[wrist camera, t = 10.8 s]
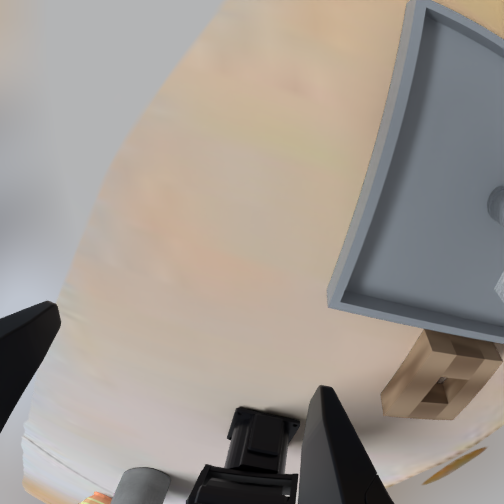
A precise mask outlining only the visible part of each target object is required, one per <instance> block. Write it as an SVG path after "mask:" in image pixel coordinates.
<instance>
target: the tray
mask: <svg viewBox="0 0 504 504" xmlns="http://www.w3.org/2000/svg"><path fill="white" fill-rule="evenodd" d="M498 186H504V39H502V38H500V37H499V36H497V35H496V34H494V33H492V32H491V31H489V30H487V29H486V28H484V27H482V26H481V25H479V24H477V23H475V22H474V21H472V20H470V19H468V18H466V17H464V16H463V15H461V14H459V13H457V12H455V11H453V10H451V9H449V8H447V7H445V6H443V5H440V4H438V3H436V2H434V1H432V0H410V1H409V2H408V3H407V4H406V10H405V16H404V21H403V27H402V32H401V37H400V42H399V47H398V52H397V57H396V62H395V66H394V71H393V75H392V80H391V84H390V88H389V92H388V97H387V101H386V105H385V109H384V113H383V116H382V120H381V124H380V128H379V132H378V135H377V139H376V142H375V146H374V150H373V153H372V157H371V160H370V163H369V167H368V170H367V173H366V177H365V180H364V183H363V187H362V190H361V193H360V196H359V199H358V202H357V206H356V209H355V212H354V215H353V218H352V221H351V224H350V227H349V230H348V233H347V235H346V238H345V241H344V244H343V247H342V250H341V253H340V255H339V258H338V261H337V264H336V266H335V269H334V272H333V275H332V277H331V280H330V283H329V285H328V288H327V302H328V308H332V309H337V310H341V311H345V312H350V313H354V314H358V315H363V316H367V317H372V318H376V319H381V320H386V321H390V322H395V323H399V324H404V325H409V326H414V327H418V328H423V329H428V330H433V331H438V332H443V333H448V334H453V335H458V336H464V337H469V338H474V339H479V340H485V341H490V342H496V343H502V344H504V302H503V301H502V300H501V298H500V297H499V295H498V294H497V293H496V291H495V290H494V288H495V286H496V284H497V282H498V280H499V278H500V276H501V274H502V273H503V271H504V228H503V227H502V226H500V225H499V224H498V223H497V222H496V221H495V220H493V219H492V218H491V217H490V215H489V213H488V210H487V201H488V197H489V195H490V193H491V192H492V191H493V190H494V189H495V188H496V187H498Z"/></svg>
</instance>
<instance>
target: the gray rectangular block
mask: <svg viewBox="0 0 504 504" xmlns="http://www.w3.org/2000/svg"><path fill="white" fill-rule="evenodd" d="M487 210H488V213H489V215H490V217H491V218H492V219H493V220H495V221H496V222H497V223H498V224H499V225H500V226H502V227H503V228H504V186H498V187H496V188H495V189H494V190H493V191H492V192H491V193H490V195H489V197H488V201H487ZM494 290H495V291H496V293H497V294H498V295H499V297H500V298H501V300H502V301H503V302H504V271H503V273H502V274H501V276H500V278H499V280H498V282H497V284H496V286H495V288H494Z"/></svg>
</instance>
